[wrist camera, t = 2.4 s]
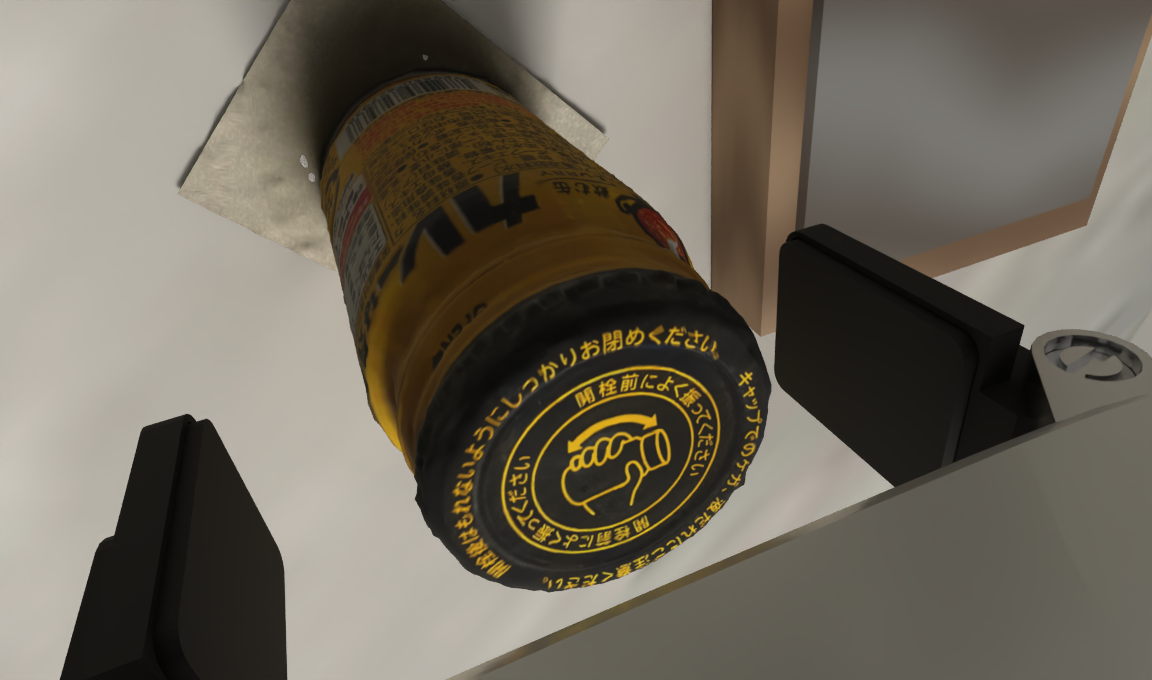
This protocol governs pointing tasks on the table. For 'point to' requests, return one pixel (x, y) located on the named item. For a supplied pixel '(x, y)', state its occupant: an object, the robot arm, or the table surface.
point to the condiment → (494, 291)
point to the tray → (910, 127)
